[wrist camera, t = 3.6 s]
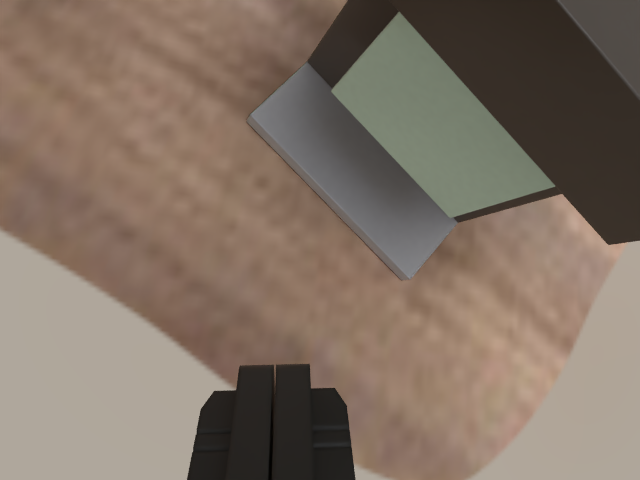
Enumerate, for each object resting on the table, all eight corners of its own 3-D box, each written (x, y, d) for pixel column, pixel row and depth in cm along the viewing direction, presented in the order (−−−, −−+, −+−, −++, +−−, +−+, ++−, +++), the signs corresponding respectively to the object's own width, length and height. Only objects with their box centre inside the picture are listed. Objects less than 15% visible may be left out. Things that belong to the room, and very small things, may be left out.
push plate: (449, 219, 23) (562, 185, 17) (329, 91, 22) (403, 6, 16) (470, 194, 23) (588, 152, 17) (354, 68, 22) (434, -24, 16)
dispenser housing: (401, 281, 29) (738, 241, 12) (243, 119, 27) (394, -162, 11) (525, 134, 32) (916, -46, 16) (390, -18, 30) (671, -384, 14)
